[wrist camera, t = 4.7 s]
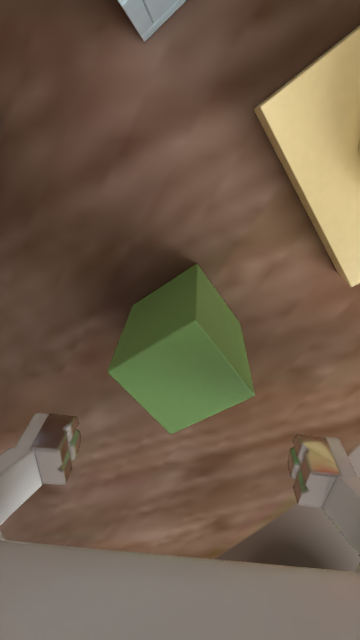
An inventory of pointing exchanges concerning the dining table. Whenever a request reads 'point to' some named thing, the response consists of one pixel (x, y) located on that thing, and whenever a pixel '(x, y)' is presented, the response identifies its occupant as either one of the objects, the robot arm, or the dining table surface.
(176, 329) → the green block
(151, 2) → the basin
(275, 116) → the button housing
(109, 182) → the dining table surface
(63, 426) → the robot arm
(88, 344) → the dining table surface
